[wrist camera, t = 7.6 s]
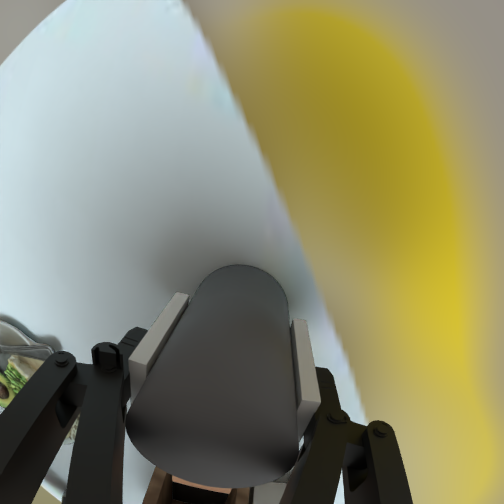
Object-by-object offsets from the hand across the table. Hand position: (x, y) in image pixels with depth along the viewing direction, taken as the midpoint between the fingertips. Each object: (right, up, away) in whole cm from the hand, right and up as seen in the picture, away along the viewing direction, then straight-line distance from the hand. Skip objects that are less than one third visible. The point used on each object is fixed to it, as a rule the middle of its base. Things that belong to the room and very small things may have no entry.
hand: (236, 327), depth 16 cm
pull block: (-1, -5, +4) cm, 7 cm away
